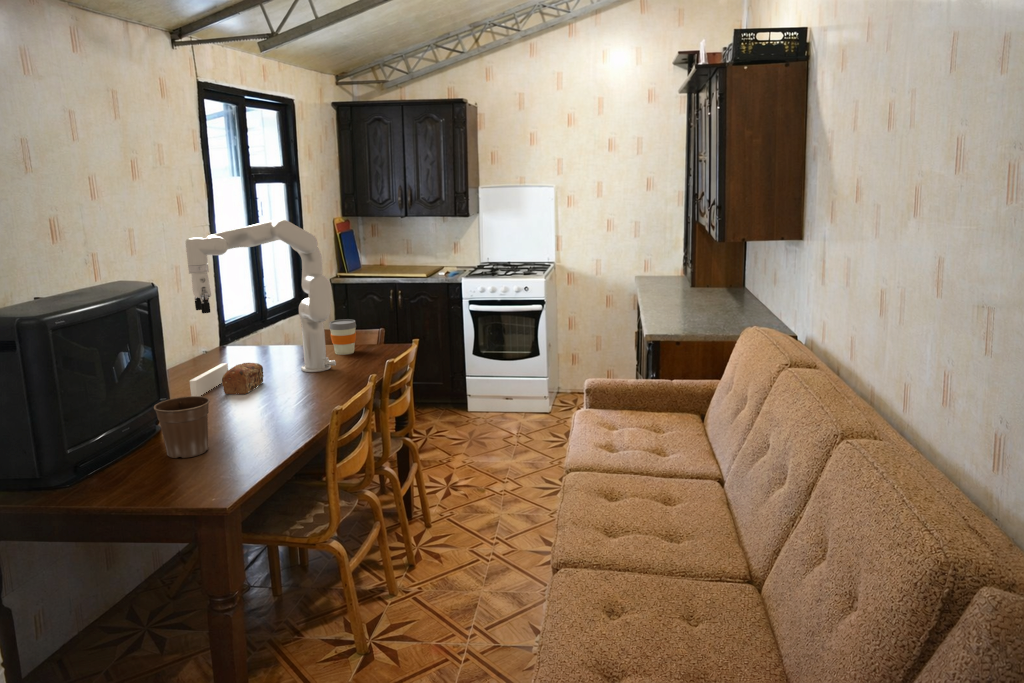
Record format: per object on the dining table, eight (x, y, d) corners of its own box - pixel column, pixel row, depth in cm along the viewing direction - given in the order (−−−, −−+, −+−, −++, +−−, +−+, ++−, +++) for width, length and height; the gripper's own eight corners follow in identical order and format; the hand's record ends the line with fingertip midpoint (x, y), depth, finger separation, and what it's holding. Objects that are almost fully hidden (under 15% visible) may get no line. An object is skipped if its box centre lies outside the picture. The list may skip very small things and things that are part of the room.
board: (229, 379, 343) (227, 363, 342) (197, 398, 316) (195, 380, 314) (223, 379, 343) (221, 363, 342) (191, 398, 316) (189, 380, 315)
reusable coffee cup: (326, 354, 384) (324, 323, 381) (339, 349, 396) (337, 318, 393) (350, 356, 380) (348, 324, 377) (362, 350, 392) (360, 319, 389)
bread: (248, 395, 319) (245, 370, 317) (221, 395, 320) (219, 370, 317) (265, 382, 337) (263, 359, 335) (240, 382, 338) (238, 359, 336)
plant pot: (149, 454, 254) (143, 405, 250) (196, 440, 266) (191, 393, 263) (177, 465, 244) (171, 413, 240) (225, 449, 256) (220, 400, 253)
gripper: (214, 270, 317) (218, 313, 321) (202, 266, 332) (207, 307, 335) (194, 271, 313) (198, 315, 317) (183, 268, 327) (188, 309, 331)
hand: (203, 311), depth 326 cm, fingers open, 9 cm apart
